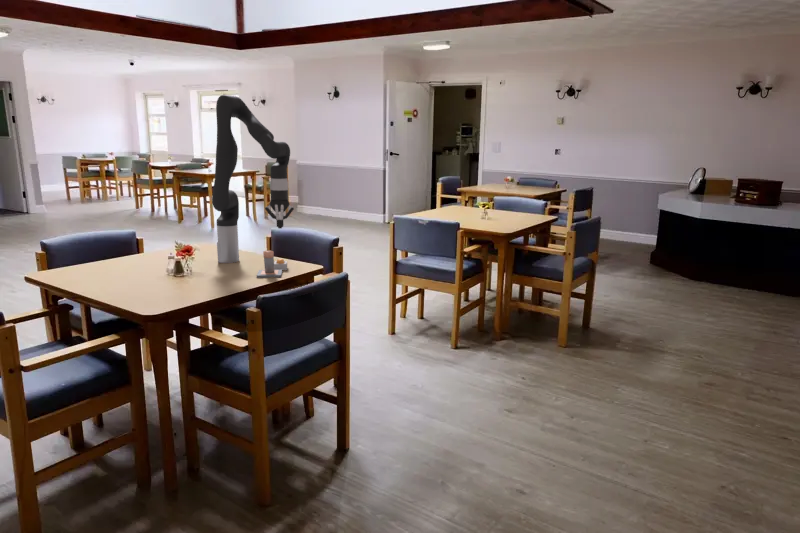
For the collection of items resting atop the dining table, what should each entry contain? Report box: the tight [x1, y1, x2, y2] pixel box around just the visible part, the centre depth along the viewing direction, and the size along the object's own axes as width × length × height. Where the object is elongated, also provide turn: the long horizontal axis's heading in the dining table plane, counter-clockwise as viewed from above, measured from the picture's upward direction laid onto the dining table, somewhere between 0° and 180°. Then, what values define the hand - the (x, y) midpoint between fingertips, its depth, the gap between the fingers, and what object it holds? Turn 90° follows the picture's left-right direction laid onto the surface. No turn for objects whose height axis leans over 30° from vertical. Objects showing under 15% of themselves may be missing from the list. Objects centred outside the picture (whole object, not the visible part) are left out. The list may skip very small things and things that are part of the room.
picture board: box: [256, 269, 283, 279], centre depth 242 cm, size 10×10×1 cm
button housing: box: [274, 260, 288, 271], centre depth 252 cm, size 6×6×3 cm
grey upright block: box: [262, 249, 275, 273], centre depth 240 cm, size 4×4×9 cm
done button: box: [276, 258, 285, 264], centre depth 251 cm, size 3×3×3 cm
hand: (280, 228), depth 249 cm, fingers closed
